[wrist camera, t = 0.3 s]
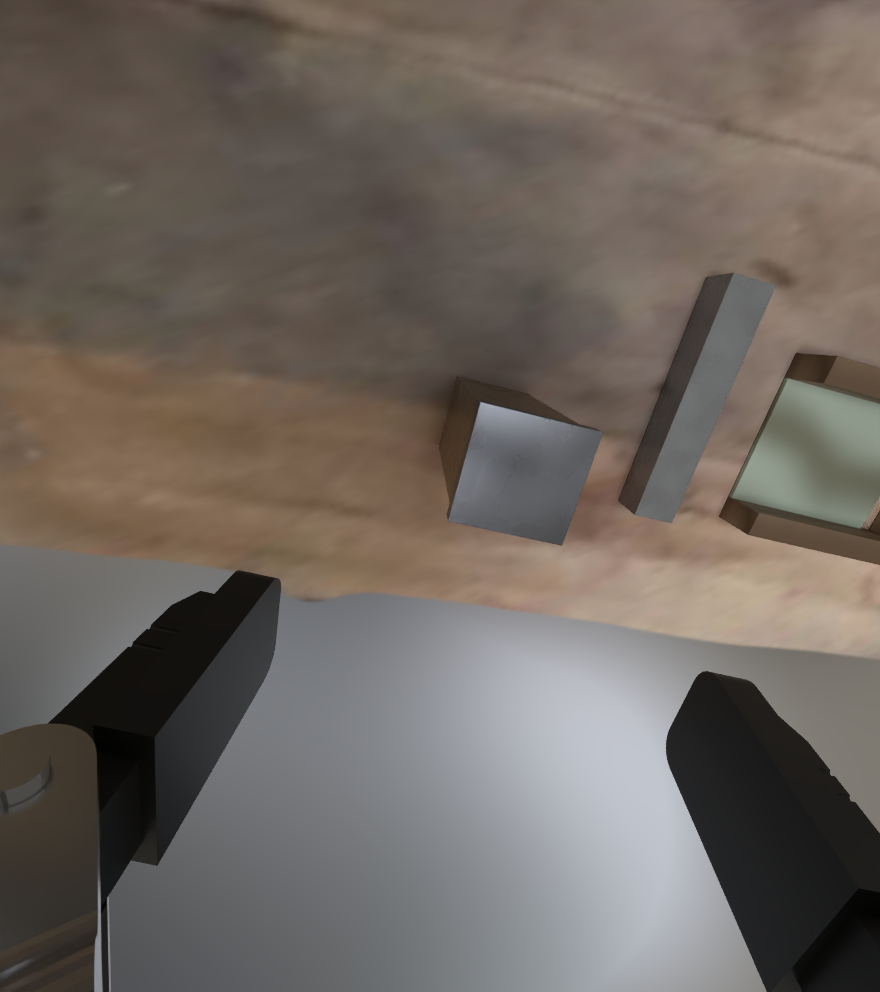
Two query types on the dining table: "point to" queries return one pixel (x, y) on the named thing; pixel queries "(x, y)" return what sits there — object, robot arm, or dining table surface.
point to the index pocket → (816, 461)
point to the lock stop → (513, 462)
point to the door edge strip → (694, 393)
